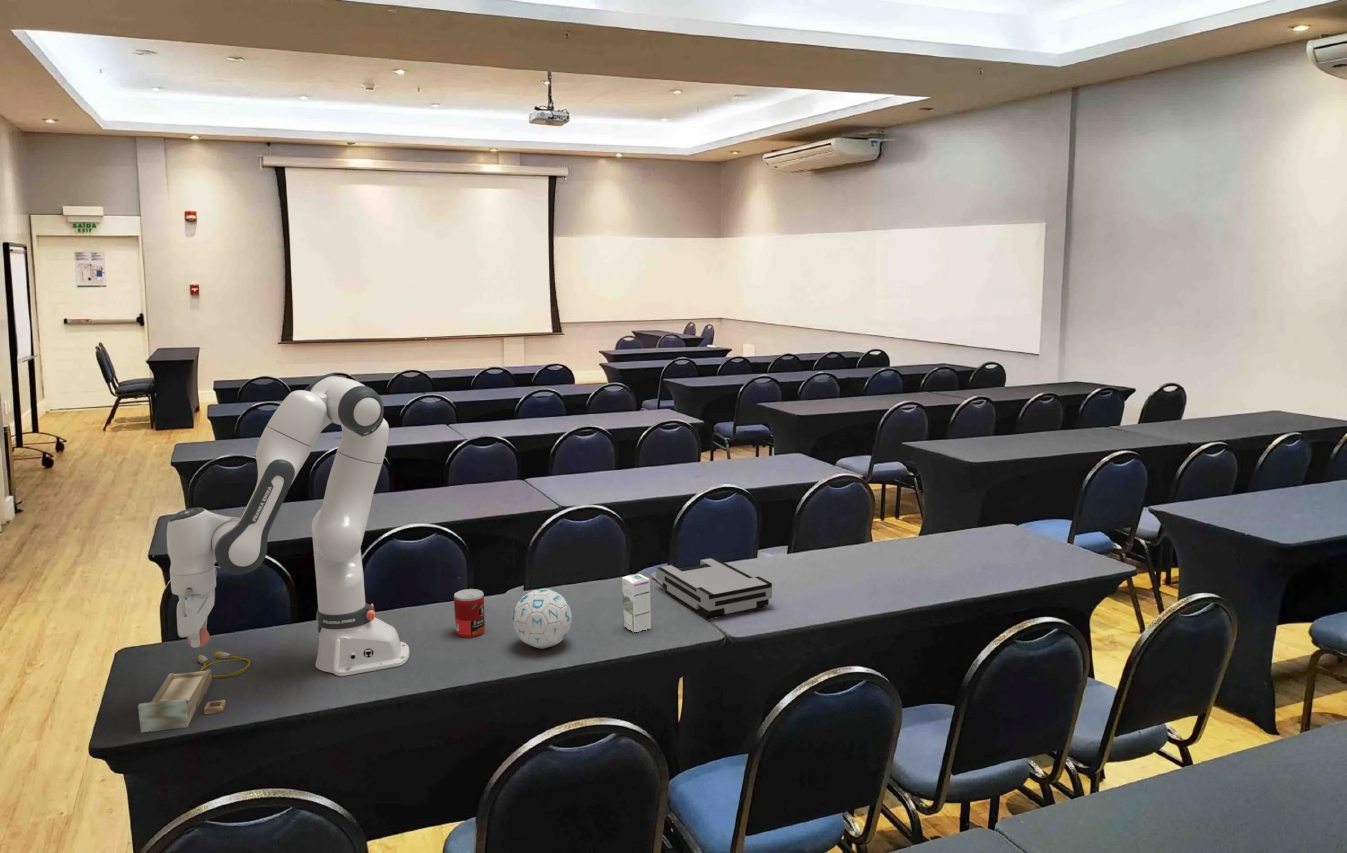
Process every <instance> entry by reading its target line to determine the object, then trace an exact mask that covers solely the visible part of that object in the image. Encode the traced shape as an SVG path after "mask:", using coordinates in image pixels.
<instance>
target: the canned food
mask: <svg viewBox="0 0 1347 853" xmlns="http://www.w3.org/2000/svg"><path fill="white" fill-rule="evenodd" d="M484 596H485V594H484V592H483V590H480V589H474V588H469V589H466V588H465V589H461V590H459V591H457V592H455V593H454V595H453V603H454V604H453V607H454V623H455V625H454V626H455V632H456V634H457V636H458V637H460V636H461V638H465V637H471V638H476V637H475V636H477V637H479V635H480V636H482V635H483V634H484V633H485V631H486V618H485V616H486V615H485V614H486V613H485V597H484ZM481 634H482V635H481Z"/></svg>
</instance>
